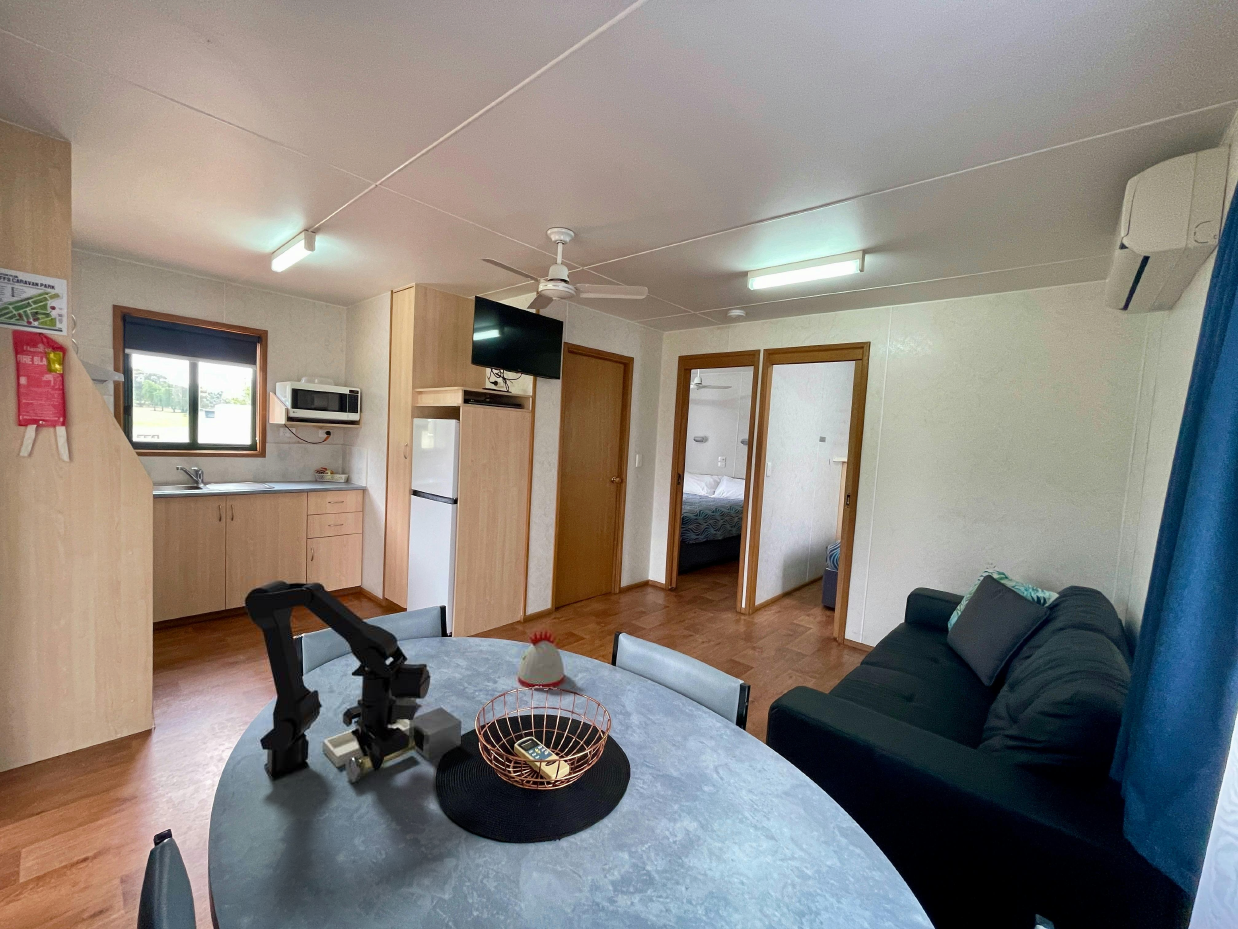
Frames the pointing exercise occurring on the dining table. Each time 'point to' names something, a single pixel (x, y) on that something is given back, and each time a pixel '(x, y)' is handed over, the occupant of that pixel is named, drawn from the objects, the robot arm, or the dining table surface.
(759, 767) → the dining table surface
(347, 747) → the tray
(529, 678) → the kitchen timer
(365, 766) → the pin
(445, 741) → the block
